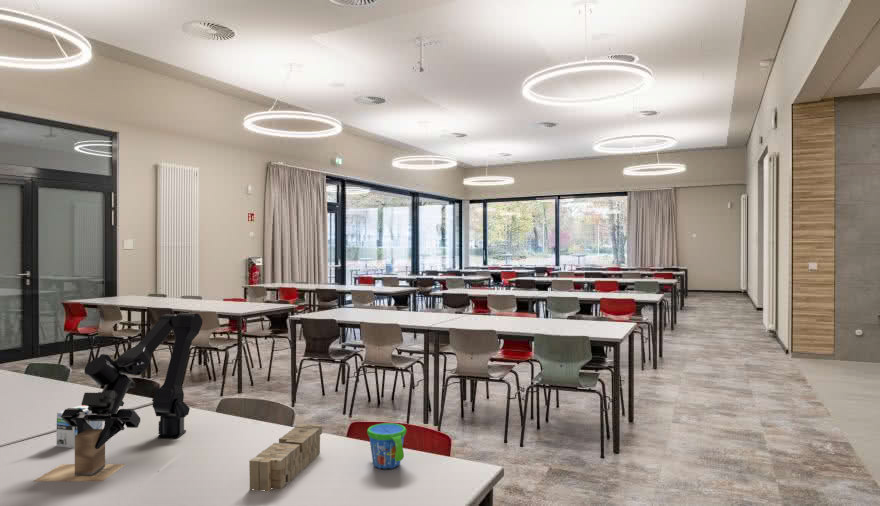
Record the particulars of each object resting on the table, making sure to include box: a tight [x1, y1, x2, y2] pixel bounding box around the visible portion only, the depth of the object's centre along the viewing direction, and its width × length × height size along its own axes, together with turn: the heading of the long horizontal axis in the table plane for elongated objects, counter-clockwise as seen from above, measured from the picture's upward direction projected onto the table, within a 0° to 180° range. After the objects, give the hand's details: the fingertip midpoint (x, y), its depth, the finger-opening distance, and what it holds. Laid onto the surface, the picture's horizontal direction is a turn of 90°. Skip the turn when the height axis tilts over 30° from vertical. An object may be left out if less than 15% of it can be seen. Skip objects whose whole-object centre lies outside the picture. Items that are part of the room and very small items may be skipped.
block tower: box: [248, 423, 323, 492], centre depth 149 cm, size 8×8×29 cm
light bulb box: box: [55, 404, 103, 449], centre depth 167 cm, size 11×7×11 cm, turn 168°
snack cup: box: [366, 422, 407, 470], centre depth 153 cm, size 16×10×10 cm
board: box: [33, 463, 127, 482], centre depth 143 cm, size 17×11×1 cm, turn 92°
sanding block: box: [74, 428, 106, 475], centre depth 143 cm, size 4×6×10 cm
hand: (86, 448), depth 142 cm, fingers closed on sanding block, 5 cm apart
